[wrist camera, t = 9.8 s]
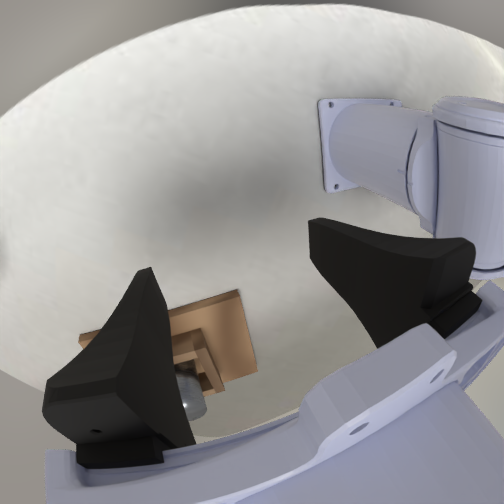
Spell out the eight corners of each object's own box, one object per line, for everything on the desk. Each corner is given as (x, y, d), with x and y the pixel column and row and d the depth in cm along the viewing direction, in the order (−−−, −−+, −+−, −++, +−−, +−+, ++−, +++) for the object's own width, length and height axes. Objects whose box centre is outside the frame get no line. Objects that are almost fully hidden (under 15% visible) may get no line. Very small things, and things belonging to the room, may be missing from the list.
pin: (184, 344, 24) (195, 395, 19) (200, 365, 27) (213, 413, 22) (148, 357, 24) (153, 408, 19) (167, 378, 26) (175, 425, 21)
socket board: (236, 289, 25) (248, 314, 22) (255, 365, 31) (265, 387, 28) (79, 334, 21) (74, 362, 19) (132, 398, 28) (134, 422, 25)
